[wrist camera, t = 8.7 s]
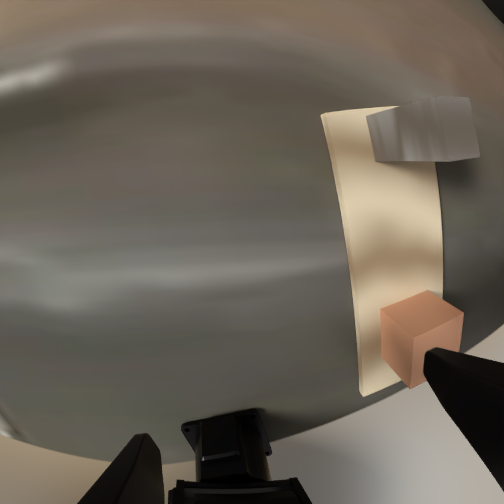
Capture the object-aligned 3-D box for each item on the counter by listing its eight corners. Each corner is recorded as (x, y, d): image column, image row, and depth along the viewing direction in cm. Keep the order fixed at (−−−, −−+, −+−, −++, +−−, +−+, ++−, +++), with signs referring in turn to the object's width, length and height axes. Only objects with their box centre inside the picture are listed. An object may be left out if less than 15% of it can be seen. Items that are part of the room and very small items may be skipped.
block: (425, 337, 22) (456, 363, 18) (381, 356, 22) (409, 389, 17) (427, 290, 21) (463, 312, 17) (379, 308, 21) (413, 337, 16)
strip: (432, 358, 24) (481, 403, 17) (359, 391, 23) (400, 452, 16) (417, 106, 18) (494, 91, 11) (320, 115, 18) (385, 85, 10)
